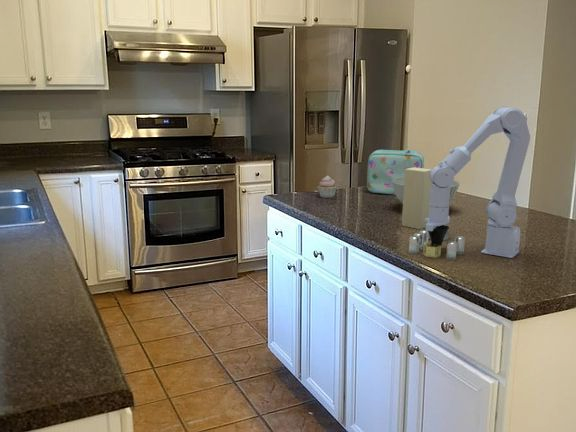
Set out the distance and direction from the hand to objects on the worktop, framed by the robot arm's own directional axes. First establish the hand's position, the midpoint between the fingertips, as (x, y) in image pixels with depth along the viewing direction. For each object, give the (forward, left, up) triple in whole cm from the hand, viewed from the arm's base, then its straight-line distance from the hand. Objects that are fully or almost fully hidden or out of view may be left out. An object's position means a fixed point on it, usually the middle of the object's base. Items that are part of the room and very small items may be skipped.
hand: (436, 248), depth 176 cm
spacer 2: (+6, 0, -1) cm, 6 cm away
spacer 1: (+5, +5, -1) cm, 7 cm away
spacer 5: (-6, -3, -1) cm, 7 cm away
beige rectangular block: (+18, -28, -1) cm, 33 cm away
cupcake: (+73, -55, -1) cm, 92 cm away
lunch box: (+51, -81, -1) cm, 96 cm away
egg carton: (+7, -18, -2) cm, 20 cm away
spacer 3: (+6, -4, -1) cm, 7 cm away
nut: (0, +4, -1) cm, 4 cm away
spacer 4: (-6, +4, -1) cm, 7 cm away
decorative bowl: (+26, -54, -1) cm, 60 cm away
